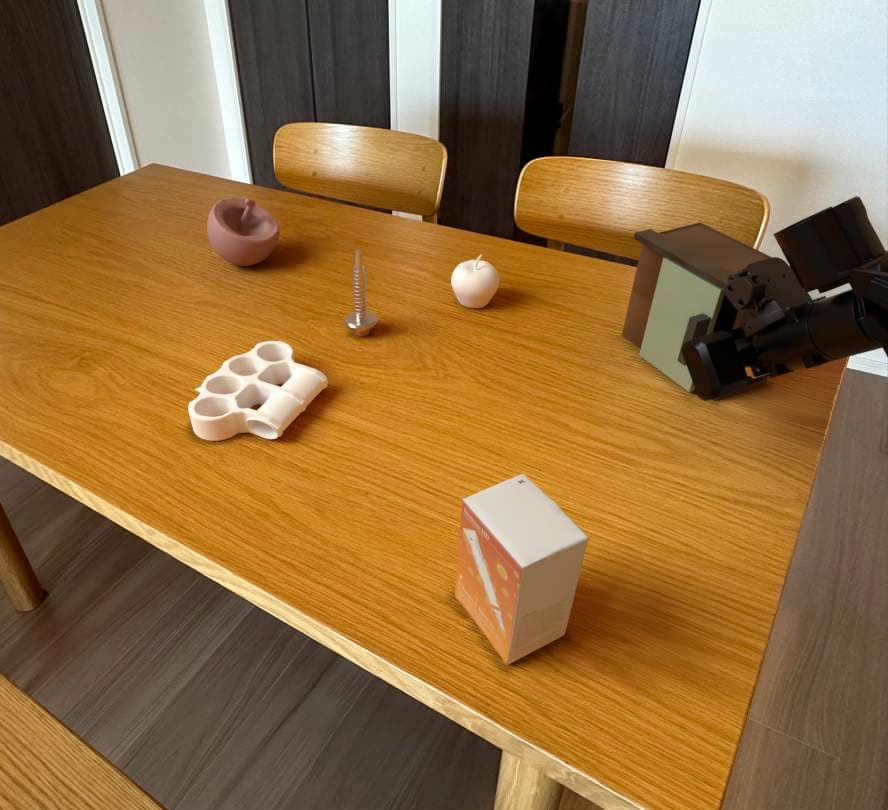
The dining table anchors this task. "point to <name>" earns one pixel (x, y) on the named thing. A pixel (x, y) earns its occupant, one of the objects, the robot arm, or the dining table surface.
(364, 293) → the screw
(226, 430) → the white brass knuckles
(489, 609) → the small box
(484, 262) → the apple
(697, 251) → the cupboard
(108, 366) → the dining table surface
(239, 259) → the mortar and pestle
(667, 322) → the sliding door
